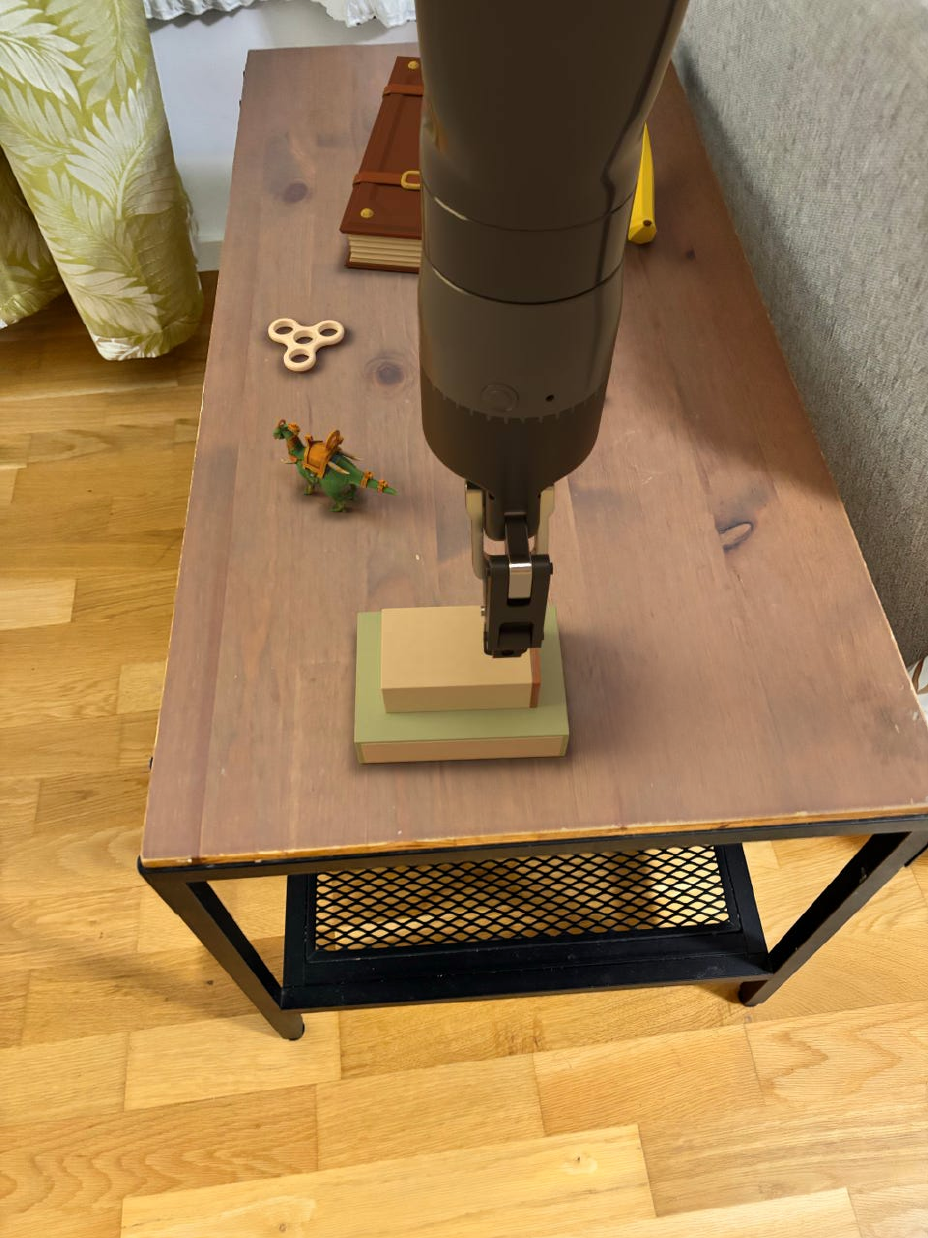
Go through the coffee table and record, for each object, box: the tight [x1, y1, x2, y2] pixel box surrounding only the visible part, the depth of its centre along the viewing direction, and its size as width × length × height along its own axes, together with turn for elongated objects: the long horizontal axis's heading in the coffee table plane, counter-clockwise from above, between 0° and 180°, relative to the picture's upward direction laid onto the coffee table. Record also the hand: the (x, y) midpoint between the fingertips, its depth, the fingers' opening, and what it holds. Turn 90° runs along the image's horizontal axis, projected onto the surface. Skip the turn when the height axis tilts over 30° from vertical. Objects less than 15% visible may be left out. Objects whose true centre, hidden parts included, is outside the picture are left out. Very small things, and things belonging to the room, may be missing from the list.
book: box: [339, 55, 424, 274], centre depth 96 cm, size 23×32×5 cm
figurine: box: [272, 418, 399, 513], centre depth 71 cm, size 3×12×8 cm, turn 57°
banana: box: [627, 122, 658, 245], centre depth 91 cm, size 3×19×6 cm, turn 175°
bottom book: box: [353, 605, 570, 764], centre depth 64 cm, size 14×10×4 cm
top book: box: [381, 604, 541, 713], centre depth 61 cm, size 10×6×4 cm, turn 92°
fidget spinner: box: [267, 317, 345, 372], centre depth 84 cm, size 7×6×1 cm
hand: (498, 580), depth 49 cm, fingers open, 8 cm apart
